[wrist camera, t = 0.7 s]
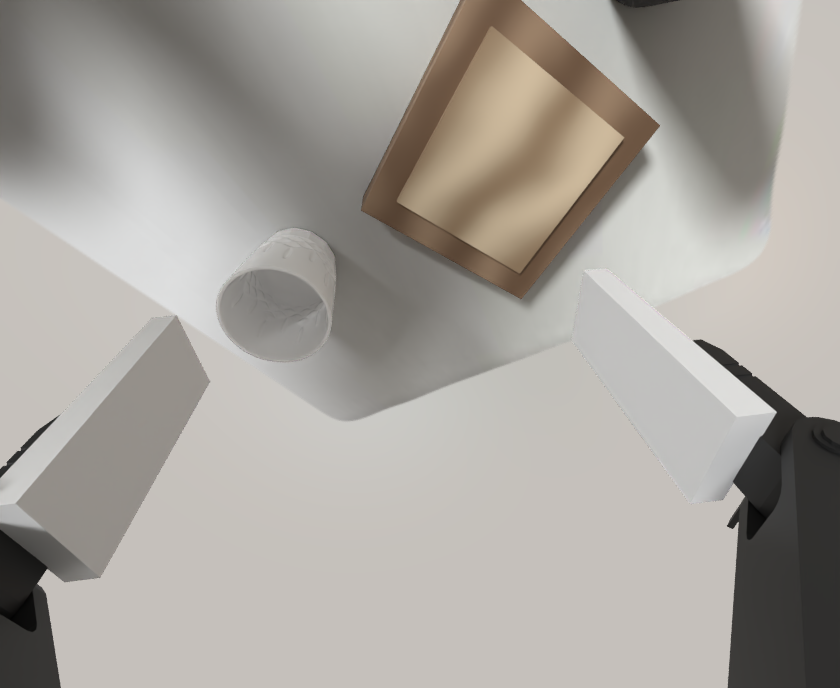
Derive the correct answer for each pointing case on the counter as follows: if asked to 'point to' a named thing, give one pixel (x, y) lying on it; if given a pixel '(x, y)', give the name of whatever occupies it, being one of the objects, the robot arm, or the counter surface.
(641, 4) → the travel mug
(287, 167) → the counter surface
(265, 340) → the white cup
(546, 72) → the walnut riser
